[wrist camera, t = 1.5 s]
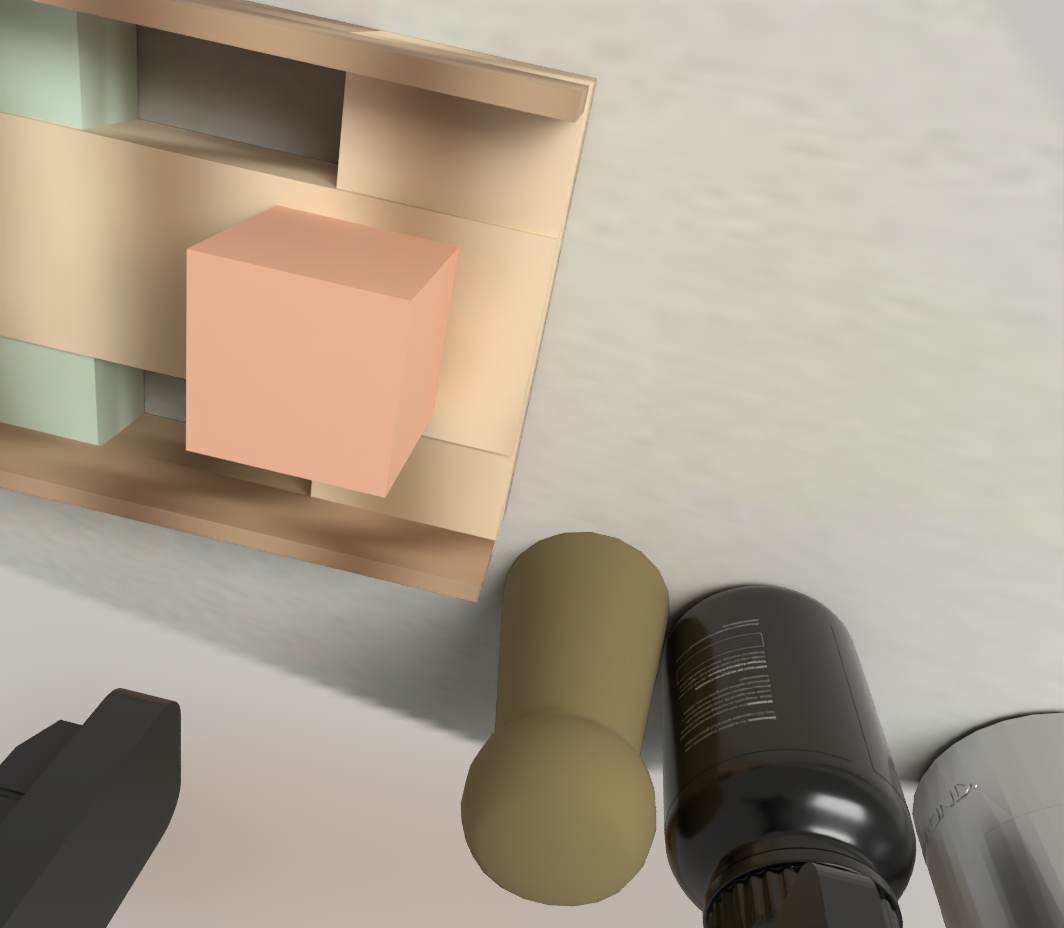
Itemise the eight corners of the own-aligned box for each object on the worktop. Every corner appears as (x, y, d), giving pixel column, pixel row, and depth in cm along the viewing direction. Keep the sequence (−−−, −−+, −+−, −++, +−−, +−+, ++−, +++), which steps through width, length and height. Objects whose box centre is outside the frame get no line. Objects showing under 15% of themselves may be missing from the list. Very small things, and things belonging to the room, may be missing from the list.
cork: (660, 678, 33) (659, 958, 23) (500, 658, 33) (434, 924, 23) (679, 541, 30) (687, 794, 20) (504, 523, 30) (430, 760, 21)
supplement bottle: (658, 721, 33) (657, 1046, 23) (664, 573, 30) (665, 869, 20) (844, 733, 33) (931, 1078, 22) (869, 582, 29) (984, 897, 19)
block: (459, 247, 23) (411, 301, 19) (433, 414, 25) (384, 497, 21) (276, 205, 23) (186, 249, 19) (268, 375, 26) (185, 450, 21)
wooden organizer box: (597, 78, 24) (578, 95, 18) (505, 511, 30) (473, 612, 25) (-108, -79, 24) (-316, -105, 19) (-46, 380, 31) (-188, 452, 26)
